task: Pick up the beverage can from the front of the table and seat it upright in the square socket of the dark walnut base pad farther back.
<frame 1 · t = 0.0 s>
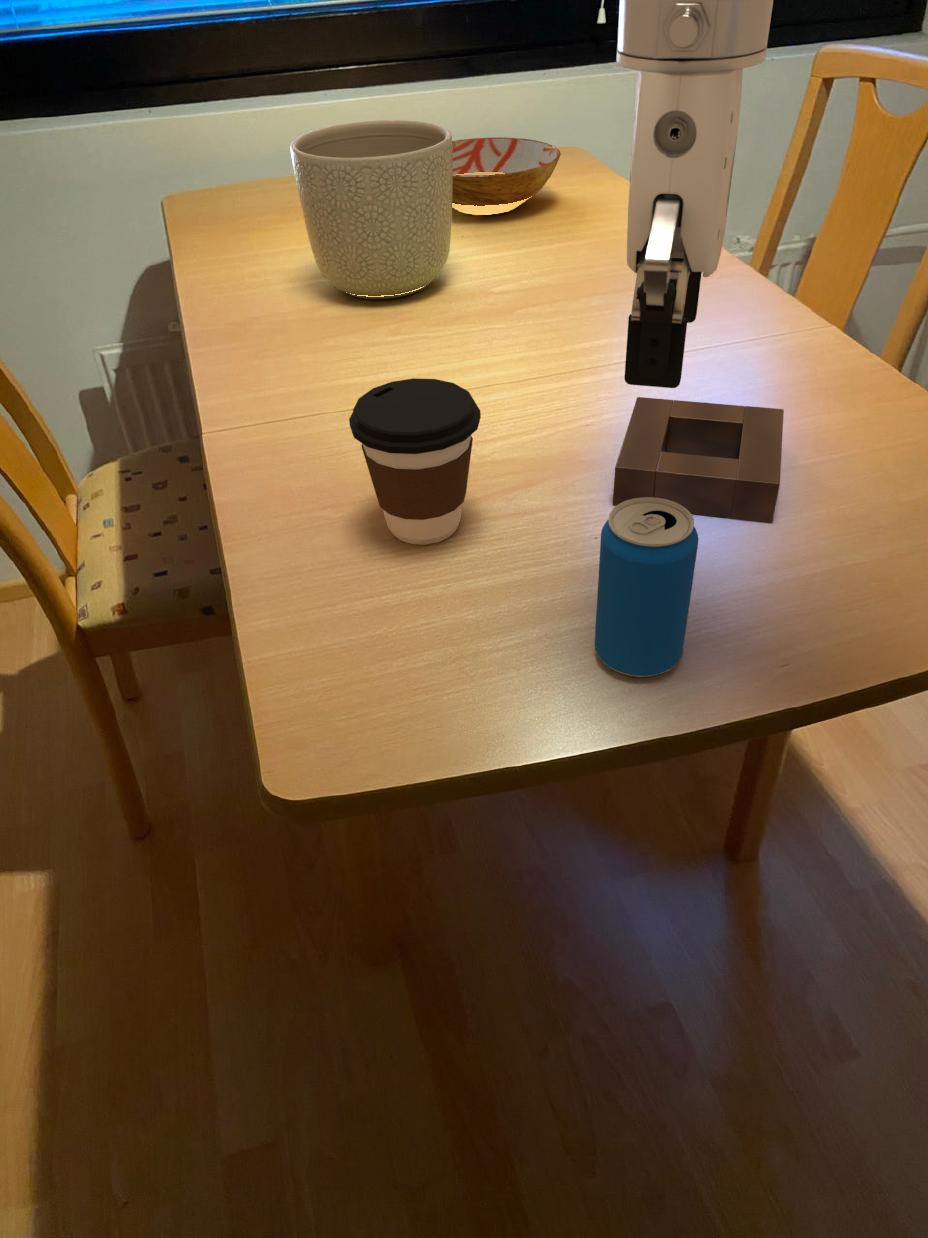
hand: (662, 350, 58), 22 cm above the table, tool pointing down, fingers open, 9 cm apart
beverage can: (637, 656, 69), on the table
coffee cup: (424, 527, 84), on the table
planter: (385, 286, 132), on the table
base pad: (697, 474, 89), on the table
bowl: (486, 207, 159), on the table
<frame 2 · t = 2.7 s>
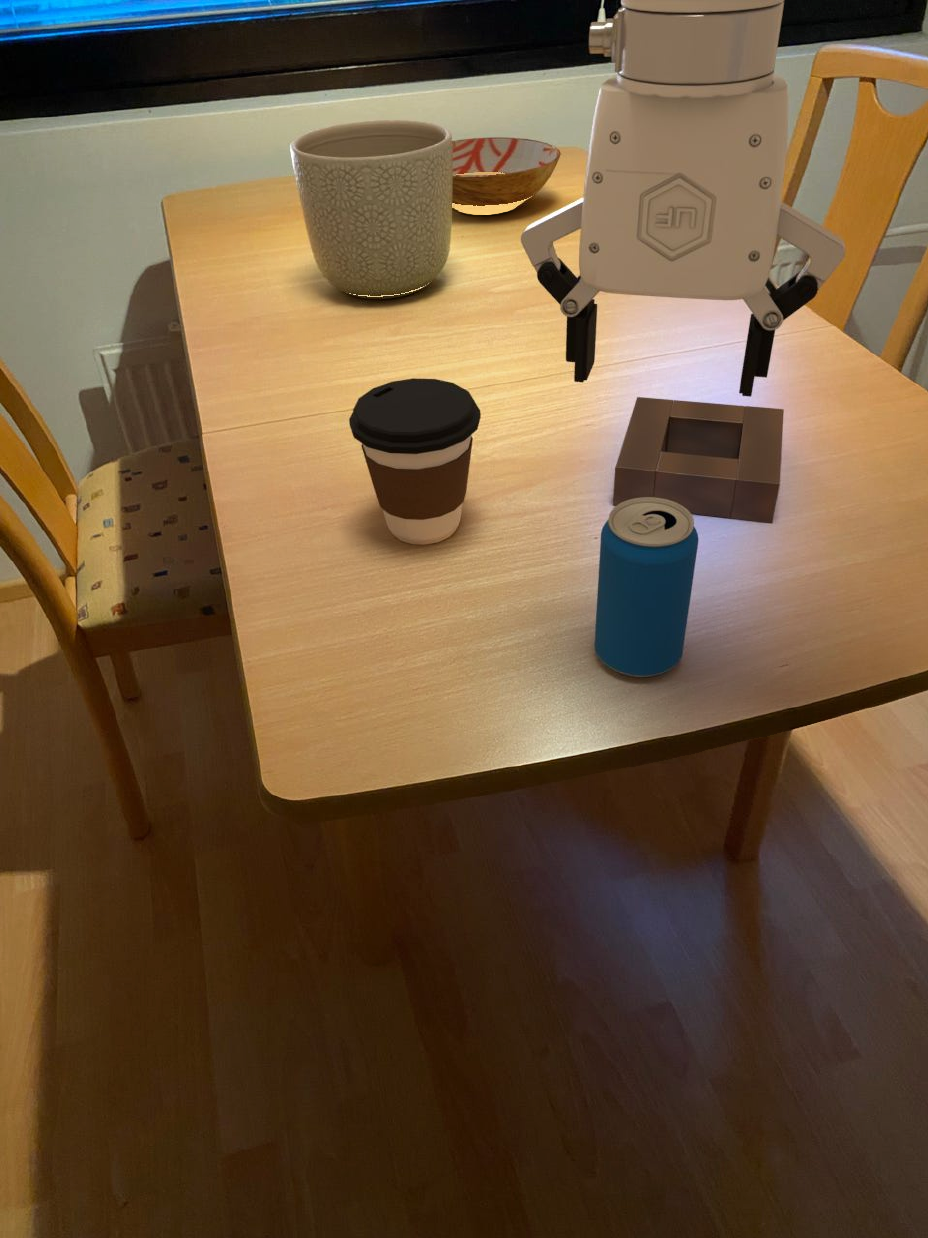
hand: (663, 379, 56), 22 cm above the table, tool pointing down, fingers open, 9 cm apart
nothing on the table moved.
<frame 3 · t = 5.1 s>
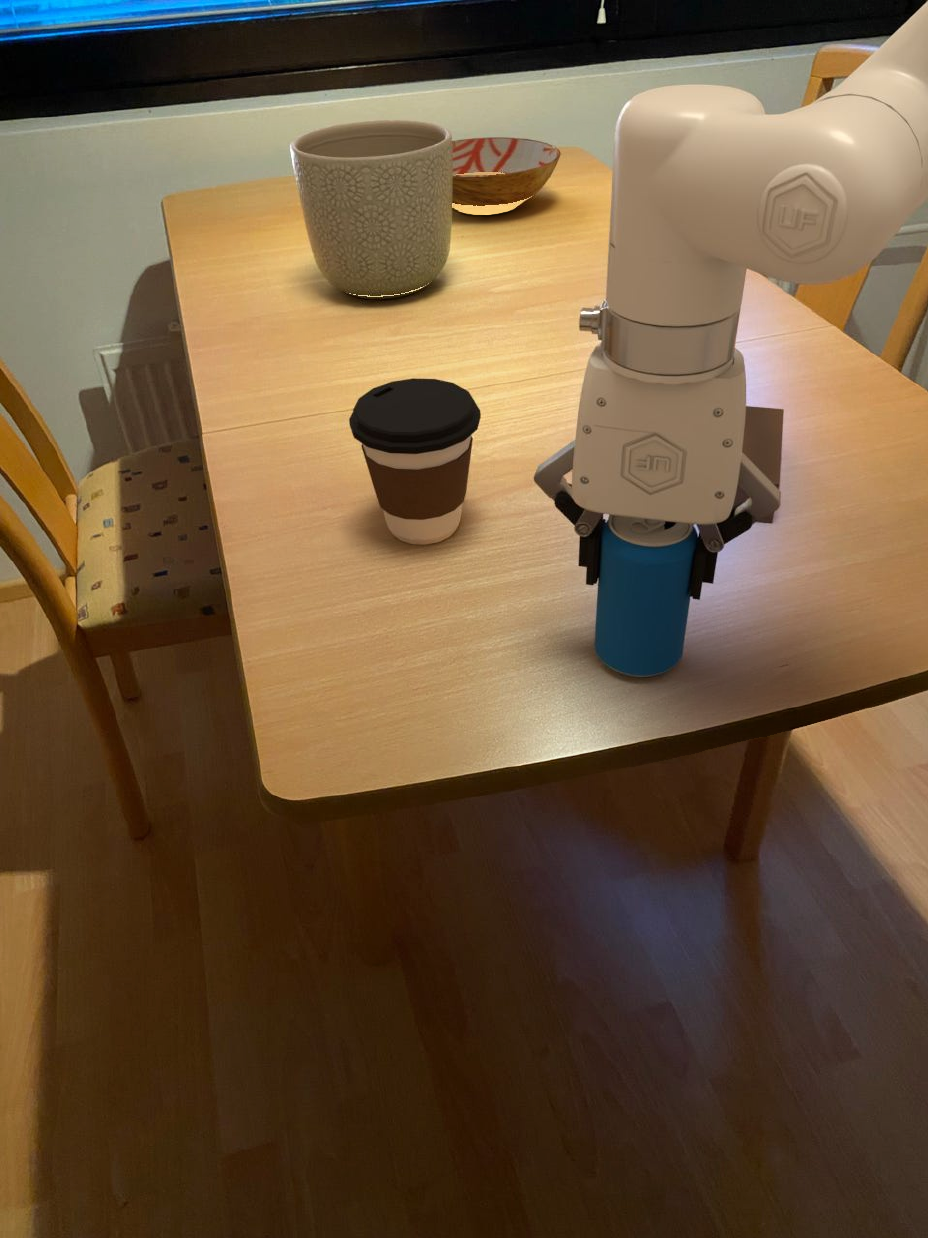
hand: (645, 578, 65), 7 cm above the table, tool pointing down, fingers closed on beverage can, 6 cm apart
beverage can: (637, 656, 69), on the table, touching gripper
everything else where it was.
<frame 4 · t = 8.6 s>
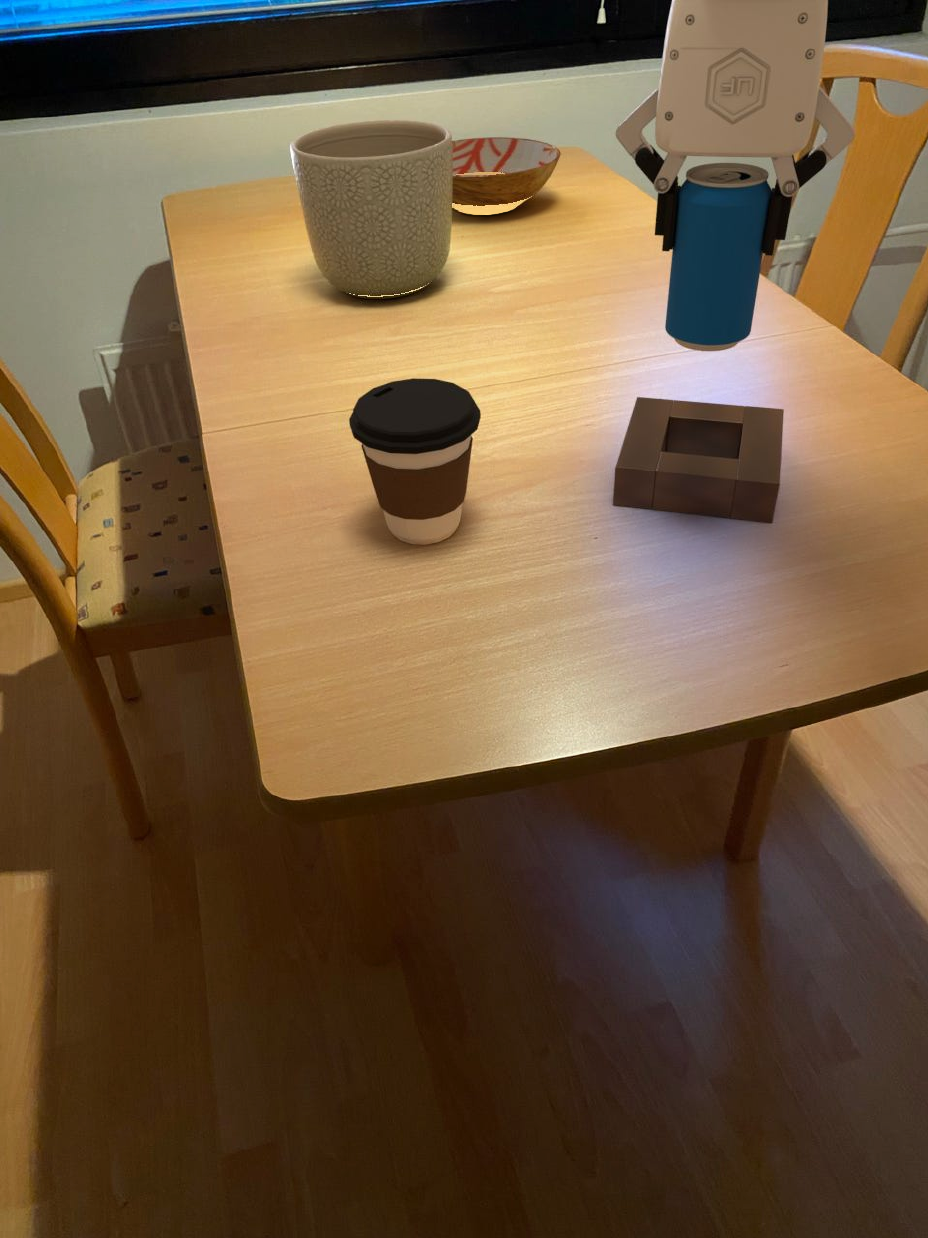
hand: (718, 245, 68), 24 cm above the table, tool pointing down, fingers closed on beverage can, 6 cm apart
beverage can: (706, 340, 73), point 16 cm above the table, touching gripper
everything else where it was.
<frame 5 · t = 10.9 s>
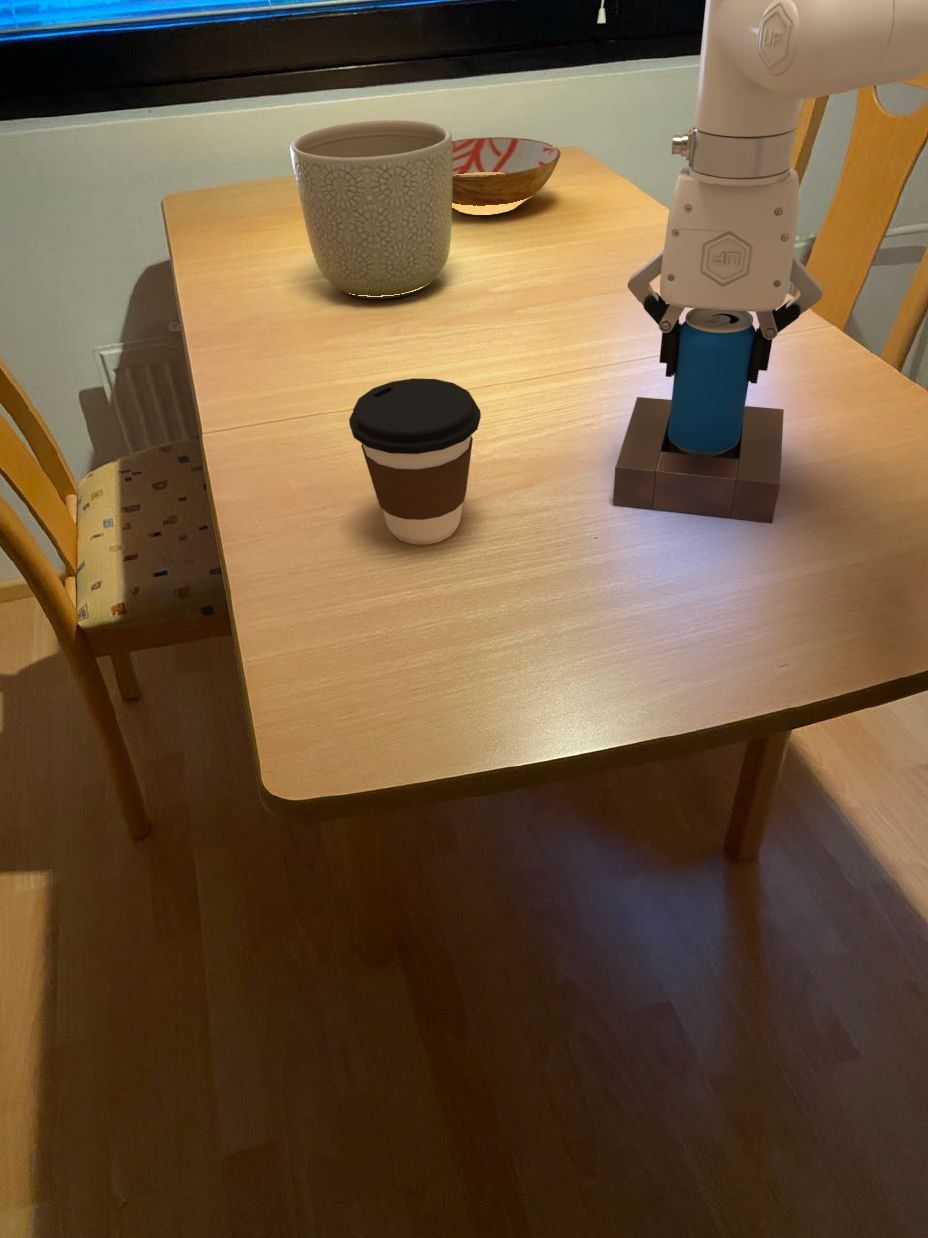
hand: (712, 371, 82), 10 cm above the table, tool pointing down, fingers closed on beverage can, 6 cm apart
beverage can: (702, 445, 87), point 3 cm above the table, touching gripper
everything else where it was.
when the fingers open (7 cm above the table, at t = 12.4 s): beverage can stays where it is, resting in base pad.
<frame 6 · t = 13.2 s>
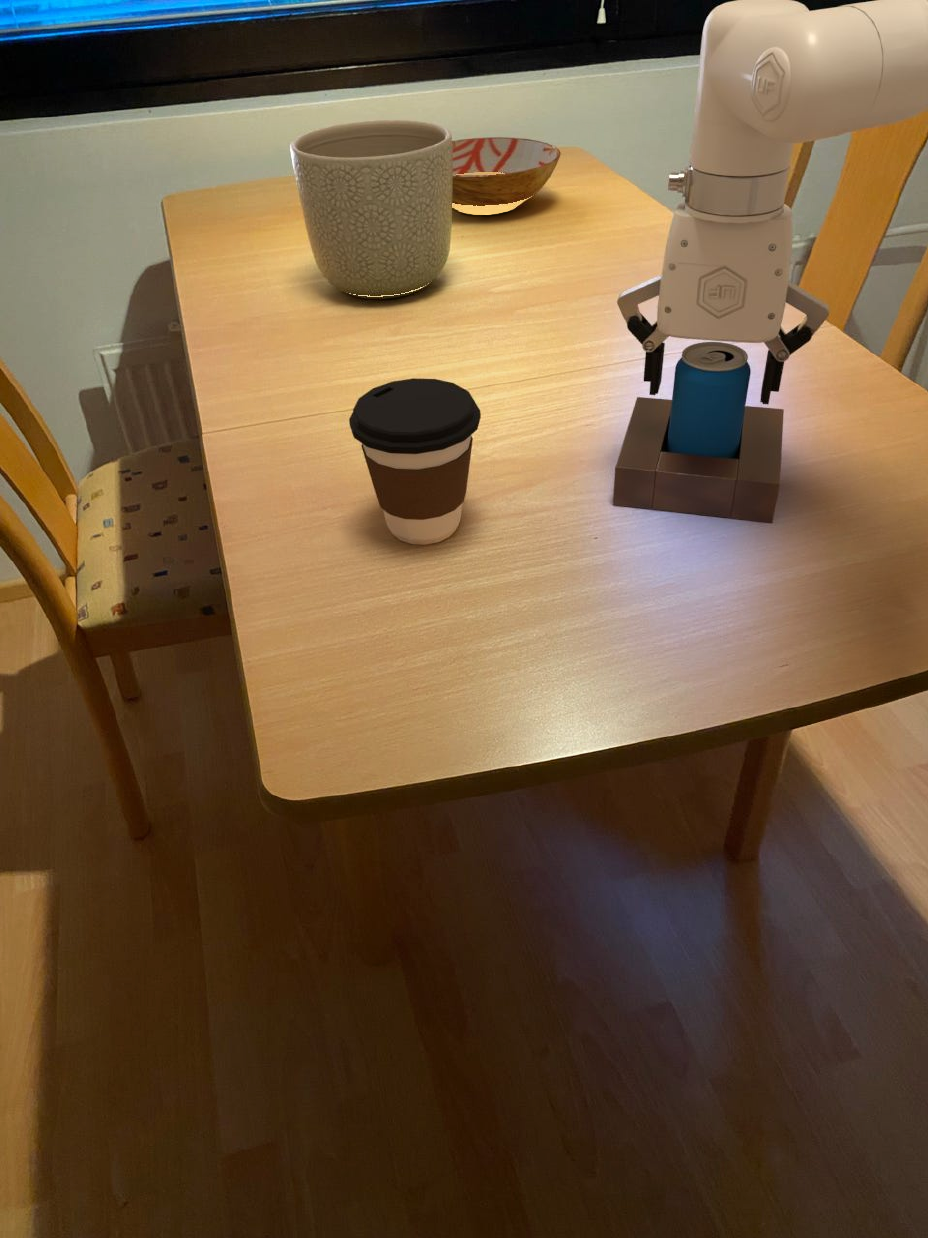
hand: (709, 392, 83), 8 cm above the table, tool pointing down, fingers open, 9 cm apart
beverage can: (698, 476, 89), resting in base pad
everything else where it was.
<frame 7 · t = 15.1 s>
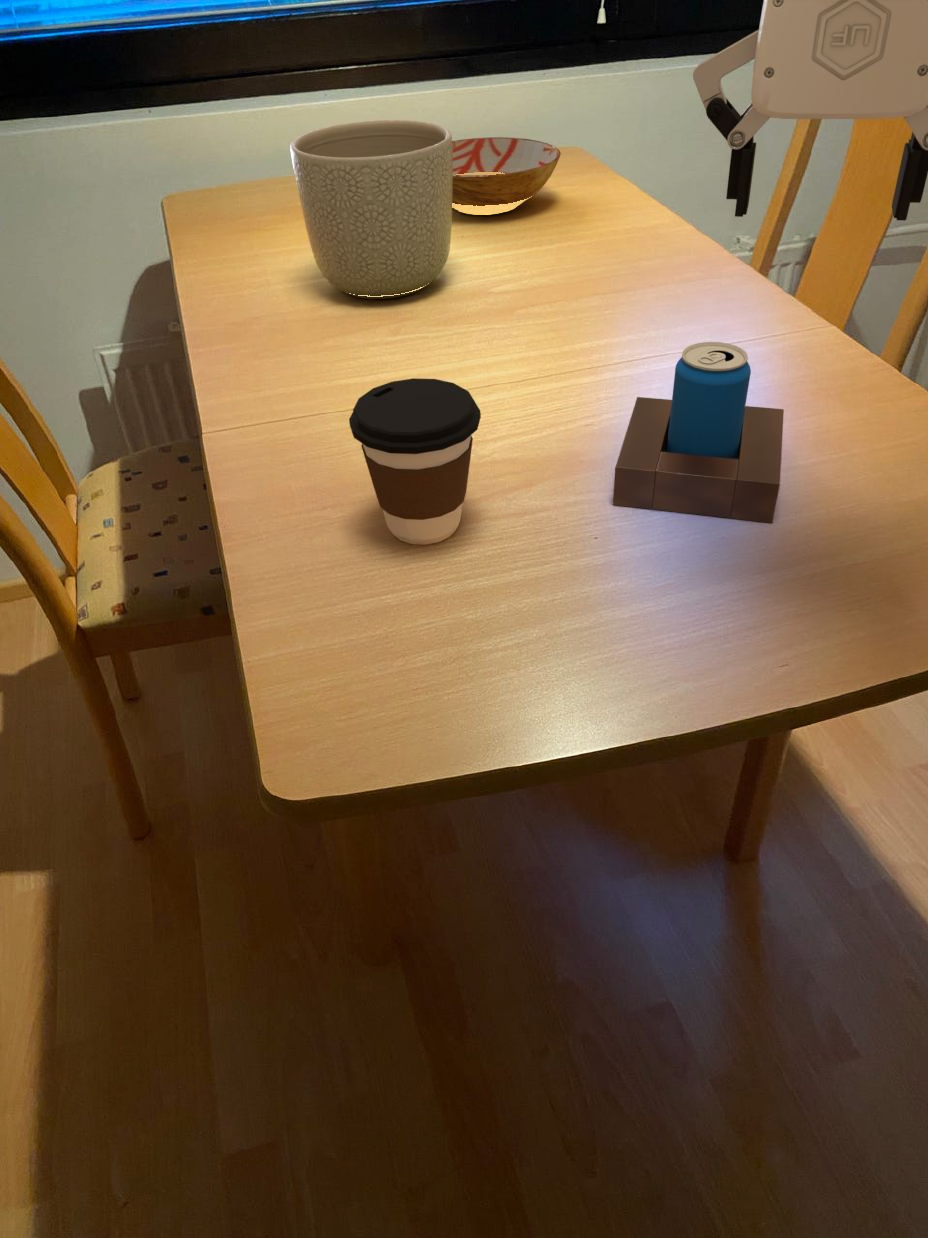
hand: (818, 212, 60), 28 cm above the table, tool pointing down, fingers open, 9 cm apart
nothing on the table moved.
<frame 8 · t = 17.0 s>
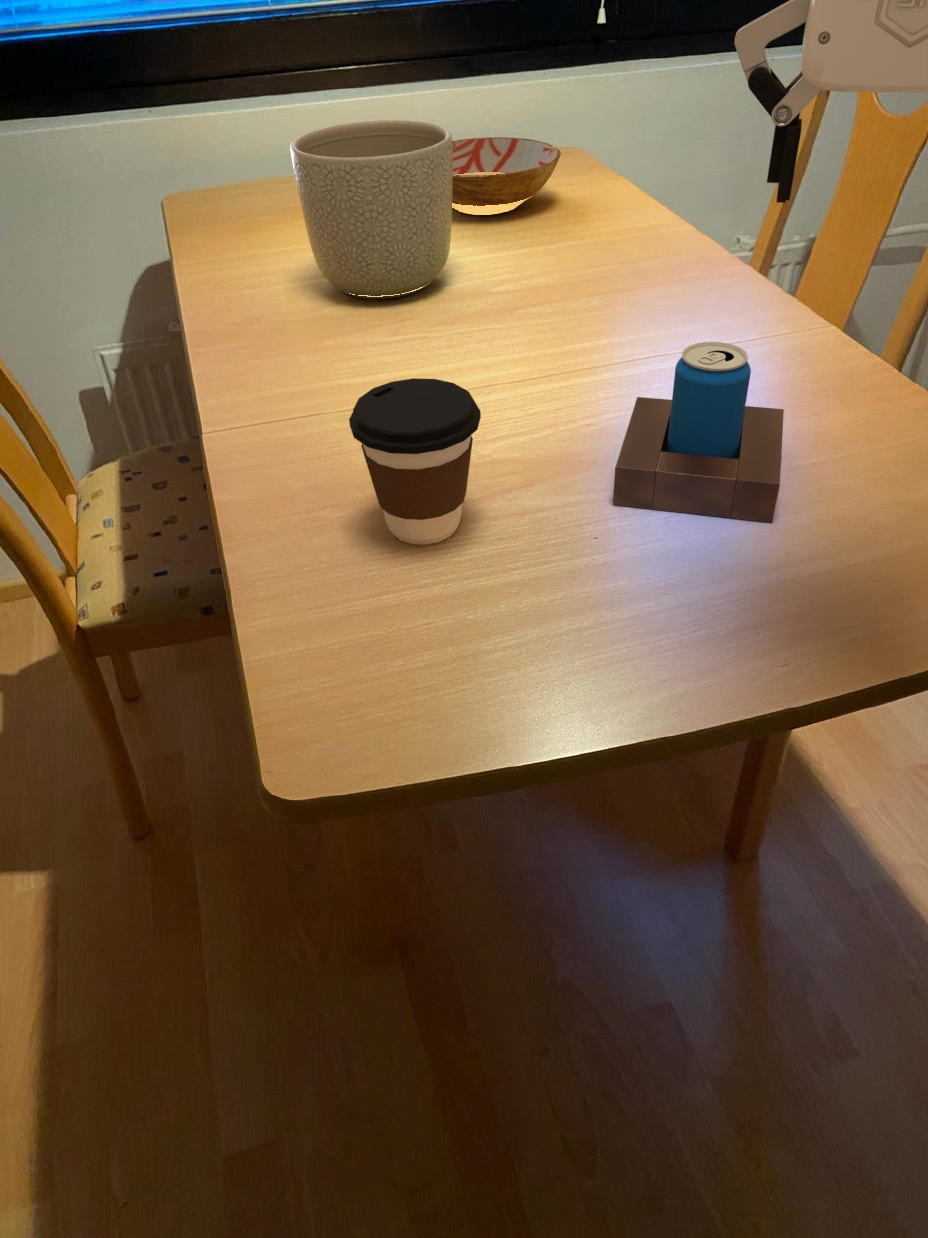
hand: (869, 198, 54), 30 cm above the table, tool pointing down, fingers open, 9 cm apart
nothing on the table moved.
at the end: beverage can 0.1 cm off-centre in the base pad, point 0.0 cm above the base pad's base; beverage can tilted 0° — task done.
